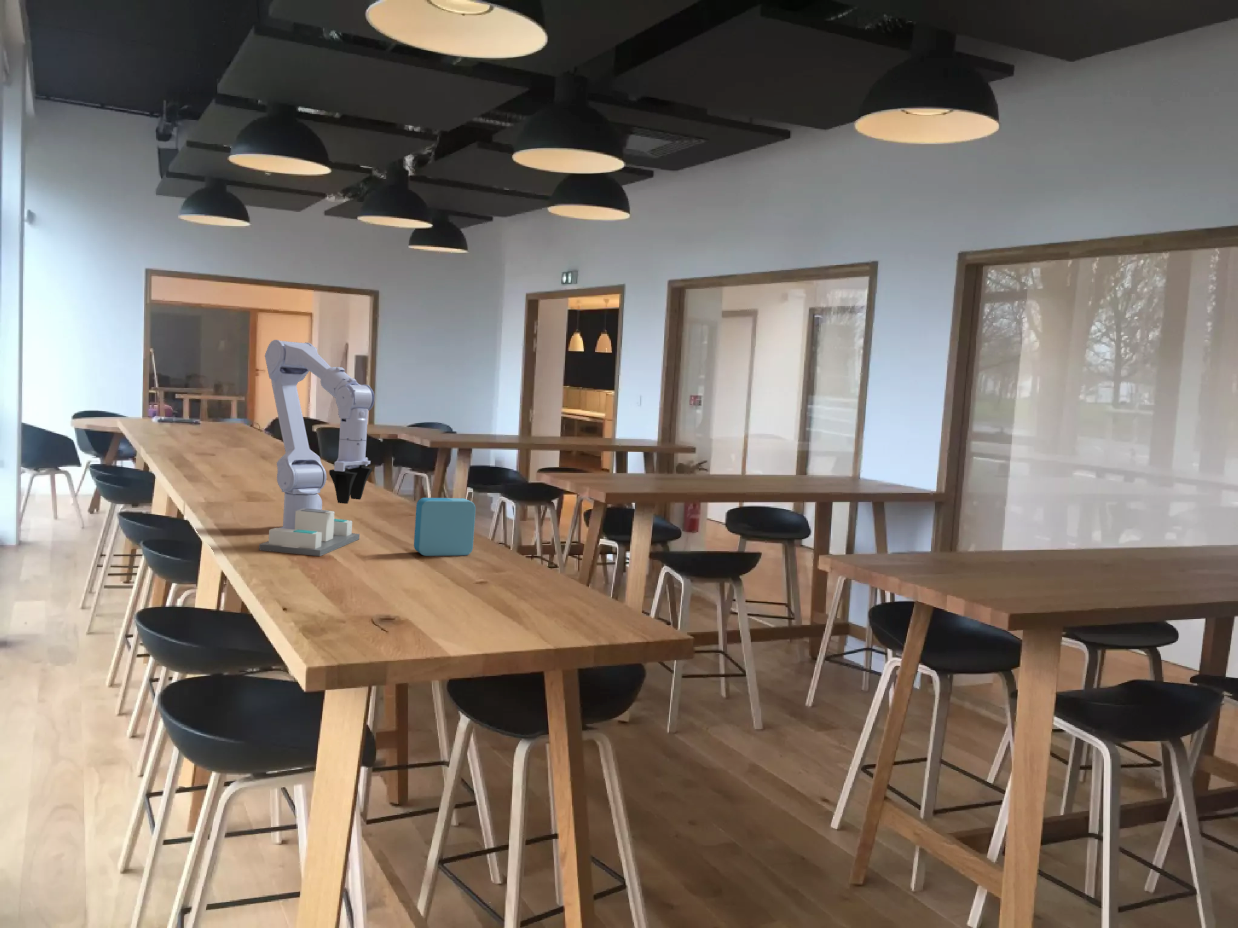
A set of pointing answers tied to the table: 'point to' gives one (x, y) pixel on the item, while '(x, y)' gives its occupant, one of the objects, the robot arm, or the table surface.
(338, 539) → the rail board
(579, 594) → the table surface
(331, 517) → the block
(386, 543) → the table surface
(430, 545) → the data package
